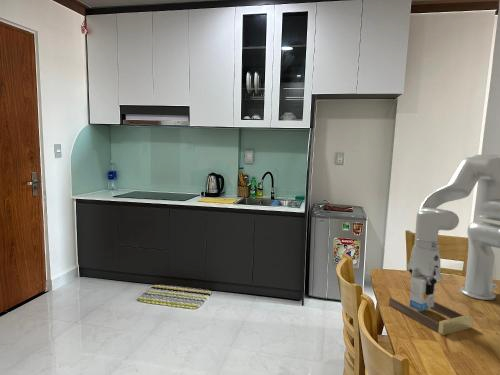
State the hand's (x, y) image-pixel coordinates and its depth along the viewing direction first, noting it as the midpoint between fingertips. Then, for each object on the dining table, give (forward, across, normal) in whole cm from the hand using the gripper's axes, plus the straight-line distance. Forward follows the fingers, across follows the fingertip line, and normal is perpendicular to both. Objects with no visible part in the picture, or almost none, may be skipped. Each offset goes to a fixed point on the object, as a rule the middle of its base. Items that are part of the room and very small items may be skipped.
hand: (422, 290), depth 129 cm
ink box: (+7, 0, 0) cm, 7 cm away
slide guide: (+8, -3, 0) cm, 9 cm away
